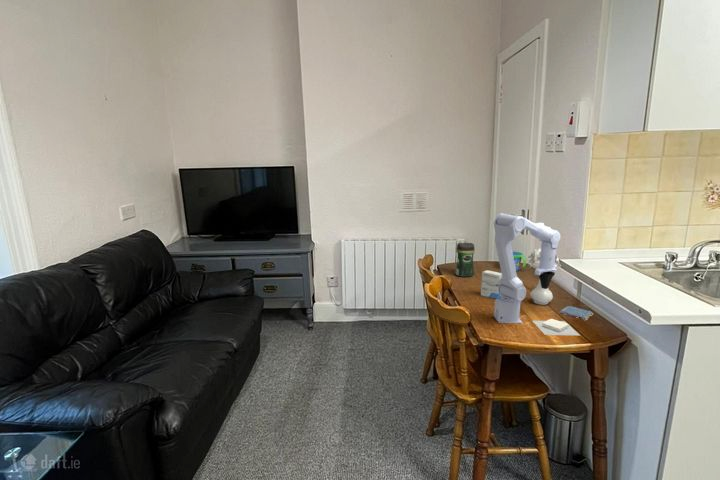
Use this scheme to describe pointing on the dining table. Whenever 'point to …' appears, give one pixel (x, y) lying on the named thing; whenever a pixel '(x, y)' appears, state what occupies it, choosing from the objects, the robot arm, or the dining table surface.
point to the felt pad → (552, 332)
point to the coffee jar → (465, 259)
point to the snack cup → (518, 259)
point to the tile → (555, 325)
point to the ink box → (490, 284)
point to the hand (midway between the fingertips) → (544, 288)
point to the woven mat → (577, 312)
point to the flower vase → (539, 293)
